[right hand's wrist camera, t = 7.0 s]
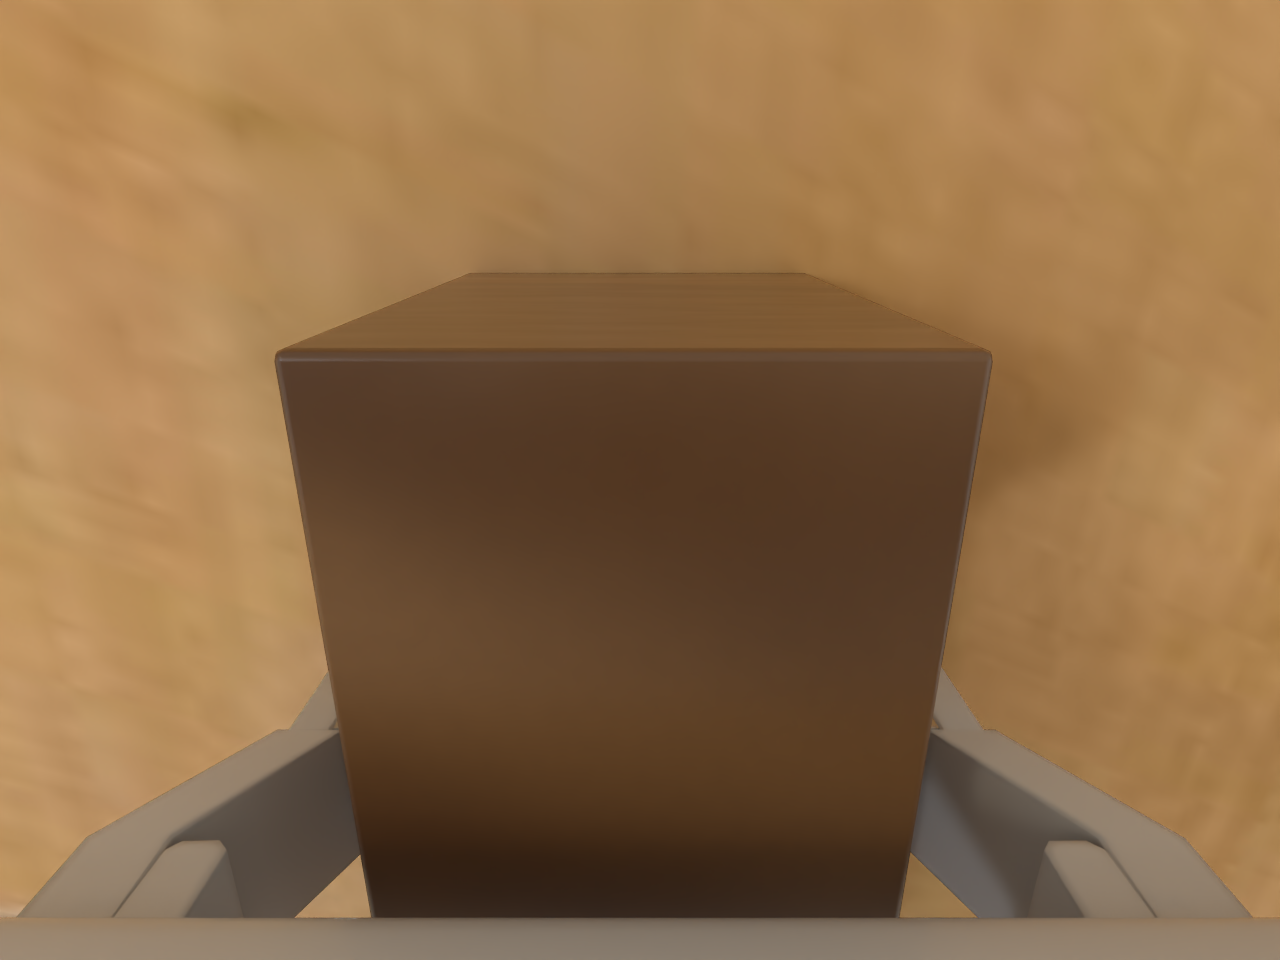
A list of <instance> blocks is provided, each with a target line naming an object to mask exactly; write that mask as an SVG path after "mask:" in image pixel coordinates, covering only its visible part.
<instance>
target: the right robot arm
mask: <svg viewBox="0 0 1280 960" xmlns="http://www.w3.org/2000/svg"><path fill="white" fill-rule="evenodd" d="M910 852H911V853H912V854H913V855H914V856H915V857H916V858H917V859H918V860H919V861H920V862H921V863H922V864H923V865H924V866H926V867H927V868H928V869H929V870H930V871H931V872H932V873H933V874H934V875H935V876H936V877H937V878H938V879H939V880H940V881H941V882H942V883H943V884H944V885H945V886H946V887H947V888H948V889H949V890H950V891H951V892H952V893H953V894H954V895H955V896H956V897H957V898H958V899H959V900H961V901H962V902H963V903H964V904H965V905H966V906H967V907H968V908H969V909H970V910H971V911H972V912H973V913H974V914H975V915H976V916H977V917H978V918H294V917H295V916H296V915H297V914H298V913H299V912H301V911H302V910H303V909H304V908H305V907H306V906H307V905H308V904H309V903H310V902H311V901H312V900H313V899H314V898H315V897H316V896H317V895H318V894H319V893H320V892H321V891H322V890H323V889H325V888H326V887H327V886H328V885H329V884H330V883H331V882H332V881H333V880H334V879H335V878H336V877H337V876H338V875H339V874H340V873H341V872H342V871H343V870H344V869H345V868H346V867H347V866H349V865H350V864H351V863H352V862H353V861H354V860H355V859H356V858H357V857H358V856H359V855H360V849H359V843H358V837H357V832H356V826H355V820H354V814H353V809H352V803H351V797H350V792H349V786H348V780H347V774H346V769H345V763H344V757H343V751H342V746H341V740H340V734H339V728H338V723H337V717H336V711H335V705H334V700H333V694H332V688H331V682H330V677H329V671H328V672H327V674H326V675H325V677H324V678H323V680H322V681H321V683H320V684H319V686H318V687H317V689H316V690H315V692H314V693H313V694H312V696H311V697H310V699H309V700H308V702H307V703H306V705H305V706H304V708H303V709H302V711H301V712H300V714H299V715H298V717H297V718H296V720H295V721H294V723H293V724H292V726H291V727H290V728H289V730H276V731H274V732H273V733H271V734H269V735H267V736H265V737H264V738H262V739H260V740H258V741H257V742H255V743H253V744H251V745H249V746H248V747H246V748H244V749H242V750H241V751H239V752H237V753H235V754H234V755H232V756H230V757H228V758H226V759H225V760H223V761H221V762H219V763H218V764H216V765H214V766H212V767H210V768H209V769H207V770H205V771H203V772H202V773H200V774H198V775H196V776H194V777H193V778H191V779H189V780H187V781H186V782H184V783H182V784H180V785H179V786H177V787H175V788H173V789H171V790H170V791H168V792H166V793H164V794H163V795H161V796H159V797H157V798H155V799H154V800H152V801H150V802H148V803H147V804H145V805H143V806H141V807H139V808H138V809H136V810H134V811H132V812H131V813H129V814H127V815H125V816H124V817H122V818H120V819H118V820H116V821H115V822H113V823H111V824H109V825H108V826H106V827H104V828H102V829H100V830H99V831H97V832H95V833H93V834H92V835H90V836H88V837H86V839H85V840H84V841H83V842H82V843H81V844H80V845H79V847H78V848H77V849H76V850H75V851H74V852H73V853H72V854H71V856H70V857H69V858H68V859H67V860H66V861H65V862H64V864H63V865H62V866H61V867H60V868H59V869H58V870H57V872H56V873H55V874H54V875H53V876H52V877H51V878H50V879H49V881H48V882H47V883H46V884H45V885H44V886H43V887H42V889H41V890H40V891H39V892H38V893H37V894H36V895H35V897H34V898H33V899H32V900H31V901H30V902H29V903H28V904H27V906H26V907H25V908H24V909H23V910H22V911H21V912H20V914H19V915H18V916H17V917H16V918H0V960H1280V918H1253V917H1252V916H1251V914H1250V913H1249V912H1248V911H1247V910H1246V909H1245V907H1244V906H1243V905H1242V904H1241V903H1240V902H1239V901H1238V899H1237V898H1236V897H1235V896H1234V895H1233V894H1232V892H1231V891H1230V890H1229V889H1228V888H1227V887H1226V885H1225V884H1224V883H1223V882H1222V881H1221V880H1220V878H1219V877H1218V876H1217V875H1216V874H1215V873H1214V871H1213V870H1212V869H1211V868H1210V867H1209V866H1208V864H1207V863H1206V862H1205V861H1204V860H1203V859H1202V857H1201V856H1200V855H1199V854H1198V853H1197V852H1196V850H1195V849H1194V848H1193V847H1192V846H1191V845H1190V843H1189V842H1188V841H1187V840H1186V839H1185V838H1183V837H1182V836H1180V835H1178V834H1176V833H1175V832H1173V831H1171V830H1169V829H1168V828H1166V827H1164V826H1162V825H1161V824H1159V823H1157V822H1155V821H1154V820H1152V819H1150V818H1148V817H1147V816H1145V815H1143V814H1141V813H1140V812H1138V811H1136V810H1134V809H1133V808H1131V807H1129V806H1127V805H1126V804H1124V803H1122V802H1120V801H1119V800H1117V799H1115V798H1113V797H1112V796H1110V795H1108V794H1106V793H1105V792H1103V791H1101V790H1099V789H1098V788H1096V787H1094V786H1092V785H1091V784H1089V783H1087V782H1085V781H1084V780H1082V779H1080V778H1078V777H1077V776H1075V775H1073V774H1071V773H1070V772H1068V771H1066V770H1064V769H1063V768H1061V767H1059V766H1057V765H1056V764H1054V763H1052V762H1050V761H1049V760H1047V759H1045V758H1043V757H1042V756H1040V755H1038V754H1036V753H1035V752H1033V751H1031V750H1029V749H1028V748H1026V747H1024V746H1022V745H1021V744H1019V743H1017V742H1015V741H1014V740H1012V739H1010V738H1008V737H1007V736H1005V735H1003V734H1001V733H1000V732H998V731H996V730H983V728H982V727H981V725H980V724H979V722H978V721H977V719H976V718H975V716H974V715H973V713H972V712H971V710H970V709H969V707H968V706H967V704H966V703H965V701H964V700H963V698H962V697H961V695H960V694H959V692H958V691H957V689H956V688H955V686H954V685H953V683H952V682H951V680H950V679H949V677H948V676H947V674H946V673H945V671H944V670H943V668H942V667H941V671H940V677H939V683H938V689H937V695H936V701H935V707H934V713H933V719H932V725H931V731H930V737H929V743H928V749H927V755H926V761H925V767H924V773H923V779H922V785H921V791H920V797H919V803H918V808H917V814H916V820H915V826H914V832H913V838H912V844H911V850H910Z"/></svg>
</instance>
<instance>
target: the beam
mask: <svg viewBox="0 0 1280 960" xmlns="http://www.w3.org/2000/svg"><path fill="white" fill-rule="evenodd" d="M275 366H276V372H277V378H278V384H279V389H280V395H281V401H282V407H283V412H284V418H285V424H286V430H287V435H288V441H289V447H290V453H291V458H292V464H293V470H294V476H295V481H296V487H297V493H298V499H299V504H300V510H301V516H302V521H303V527H304V533H305V539H306V544H307V550H308V556H309V562H310V567H311V573H312V579H313V585H314V590H315V596H316V602H317V608H318V613H319V619H320V625H321V631H322V636H323V642H324V648H325V654H326V659H327V665H328V671H329V677H330V682H331V688H332V694H333V700H334V705H335V711H336V717H337V723H338V728H339V734H340V740H341V746H342V751H343V757H344V763H345V769H346V774H347V780H348V786H349V792H350V797H351V803H352V809H353V814H354V820H355V826H356V832H357V837H358V843H359V849H360V855H361V860H362V866H363V872H364V878H365V883H366V889H367V895H368V901H369V906H370V912H371V918H899V916H900V910H901V904H902V898H903V892H904V886H905V880H906V874H907V868H908V862H909V856H910V850H911V844H912V838H913V832H914V826H915V820H916V814H917V808H918V803H919V797H920V791H921V785H922V779H923V773H924V767H925V761H926V755H927V749H928V743H929V737H930V731H931V725H932V719H933V713H934V707H935V701H936V695H937V689H938V683H939V677H940V671H941V665H942V660H943V654H944V648H945V642H946V636H947V630H948V624H949V618H950V612H951V606H952V600H953V594H954V588H955V582H956V576H957V570H958V564H959V558H960V552H961V546H962V540H963V534H964V528H965V522H966V517H967V511H968V505H969V499H970V493H971V487H972V481H973V475H974V469H975V463H976V457H977V451H978V445H979V439H980V433H981V427H982V421H983V415H984V409H985V403H986V397H987V391H988V385H989V379H990V373H991V368H992V355H991V352H990V351H988V350H985V349H983V348H981V347H978V346H976V345H974V344H971V343H969V342H967V341H964V340H962V339H959V338H957V337H955V336H952V335H950V334H948V333H945V332H943V331H940V330H938V329H936V328H933V327H931V326H929V325H926V324H924V323H921V322H919V321H917V320H914V319H912V318H910V317H907V316H905V315H902V314H900V313H898V312H895V311H893V310H891V309H888V308H886V307H883V306H881V305H879V304H876V303H874V302H871V301H869V300H867V299H864V298H862V297H860V296H857V295H855V294H852V293H850V292H848V291H845V290H843V289H841V288H838V287H836V286H833V285H831V284H829V283H826V282H824V281H822V280H819V279H817V278H814V277H812V276H810V275H807V274H805V273H469V274H467V275H465V276H462V277H460V278H457V279H455V280H452V281H450V282H447V283H445V284H442V285H440V286H437V287H435V288H432V289H430V290H427V291H425V292H422V293H420V294H417V295H415V296H413V297H410V298H408V299H405V300H403V301H400V302H398V303H395V304H393V305H390V306H388V307H385V308H383V309H380V310H378V311H375V312H373V313H370V314H368V315H366V316H363V317H361V318H358V319H356V320H353V321H351V322H348V323H346V324H343V325H341V326H338V327H336V328H333V329H331V330H328V331H326V332H323V333H321V334H318V335H316V336H314V337H311V338H309V339H306V340H304V341H301V342H299V343H296V344H294V345H291V346H289V347H286V348H284V349H282V350H279V351H277V353H276V356H275Z"/></svg>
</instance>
